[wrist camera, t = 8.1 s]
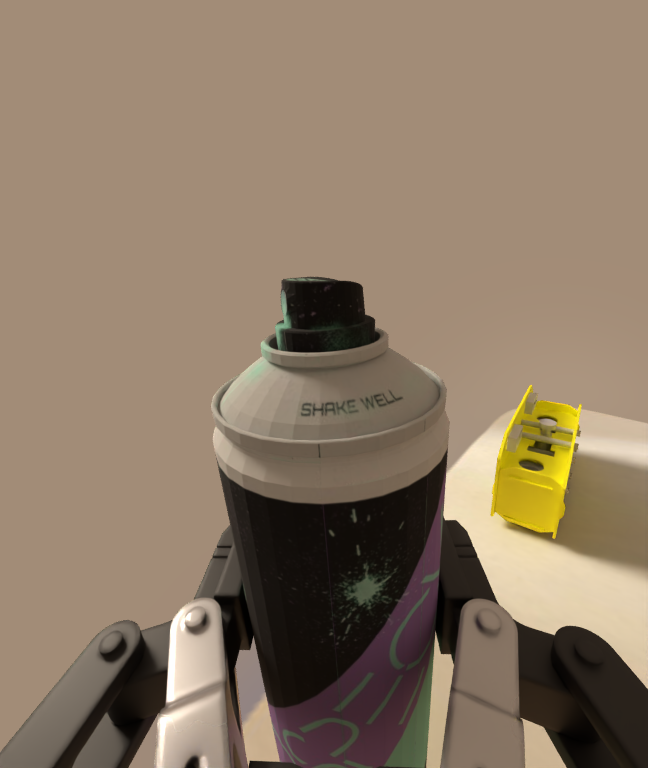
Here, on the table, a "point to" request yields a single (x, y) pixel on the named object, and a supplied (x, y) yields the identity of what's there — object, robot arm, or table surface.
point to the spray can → (337, 528)
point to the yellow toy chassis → (536, 464)
